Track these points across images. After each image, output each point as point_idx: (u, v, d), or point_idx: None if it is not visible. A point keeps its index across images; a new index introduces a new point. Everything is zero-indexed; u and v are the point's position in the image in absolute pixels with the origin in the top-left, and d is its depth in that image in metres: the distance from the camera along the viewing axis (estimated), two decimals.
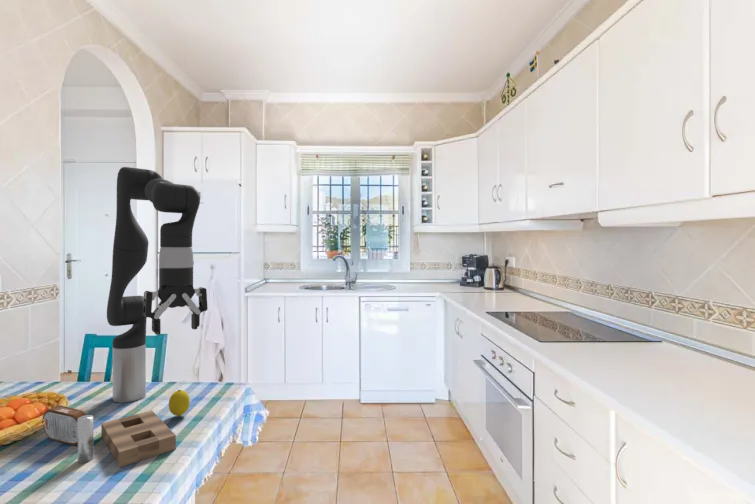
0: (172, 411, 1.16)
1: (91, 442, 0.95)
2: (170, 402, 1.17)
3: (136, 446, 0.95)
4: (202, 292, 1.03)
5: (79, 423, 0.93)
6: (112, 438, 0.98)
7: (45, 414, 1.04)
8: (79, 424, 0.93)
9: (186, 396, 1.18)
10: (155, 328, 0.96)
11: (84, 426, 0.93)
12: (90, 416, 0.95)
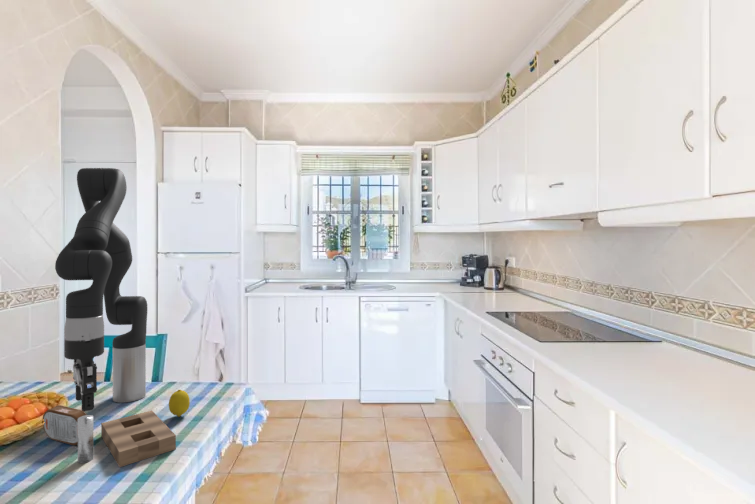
0: (172, 411, 1.16)
1: (91, 442, 0.95)
2: (170, 402, 1.17)
3: (136, 446, 0.95)
4: None
5: (79, 423, 0.93)
6: (112, 438, 0.98)
7: (45, 414, 1.04)
8: (79, 424, 0.93)
9: (186, 396, 1.18)
10: (92, 403, 0.91)
11: (84, 426, 0.93)
12: (90, 416, 0.95)
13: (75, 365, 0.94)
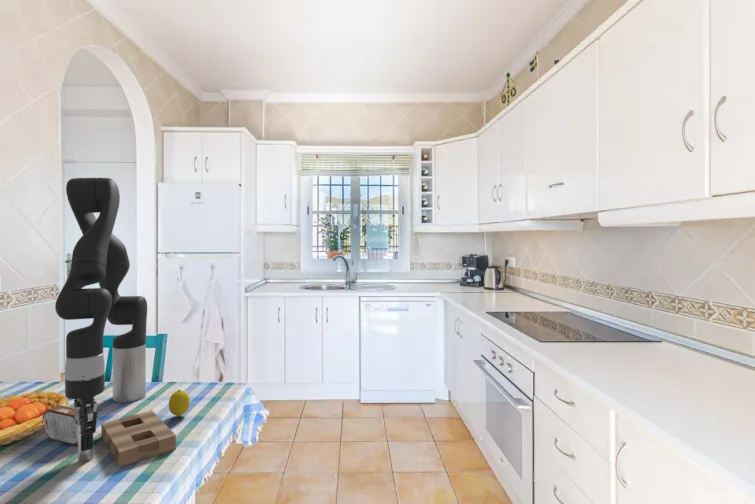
0: (172, 411, 1.16)
1: None
2: (170, 402, 1.17)
3: (136, 446, 0.95)
4: None
5: None
6: (112, 438, 0.98)
7: (45, 414, 1.04)
8: None
9: (186, 396, 1.18)
10: (91, 443, 0.94)
11: None
12: None
13: (76, 402, 0.94)
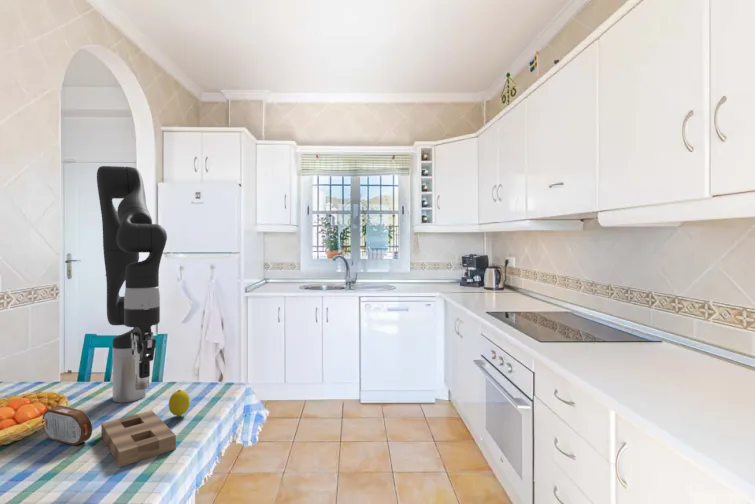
0: (172, 411, 1.16)
1: None
2: (170, 402, 1.17)
3: (136, 446, 0.95)
4: None
5: None
6: (112, 438, 0.98)
7: (45, 414, 1.04)
8: None
9: (186, 396, 1.18)
10: None
11: None
12: None
13: (133, 332, 0.99)
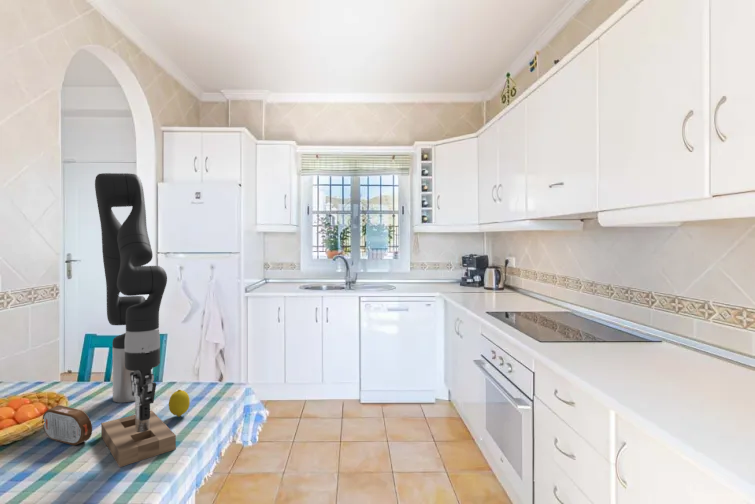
0: (172, 411, 1.16)
1: None
2: (170, 402, 1.17)
3: (136, 446, 0.95)
4: None
5: None
6: (112, 438, 0.98)
7: (45, 414, 1.04)
8: None
9: (186, 396, 1.18)
10: None
11: None
12: None
13: (134, 375, 0.99)
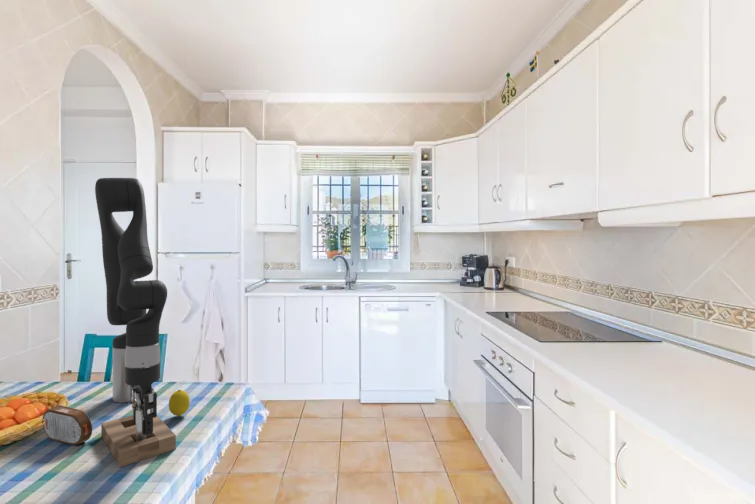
0: (172, 411, 1.16)
1: None
2: (170, 402, 1.17)
3: (136, 446, 0.95)
4: None
5: (137, 415, 0.98)
6: (112, 438, 0.98)
7: (45, 414, 1.04)
8: (137, 416, 0.98)
9: (186, 396, 1.18)
10: None
11: None
12: None
13: (134, 390, 0.99)
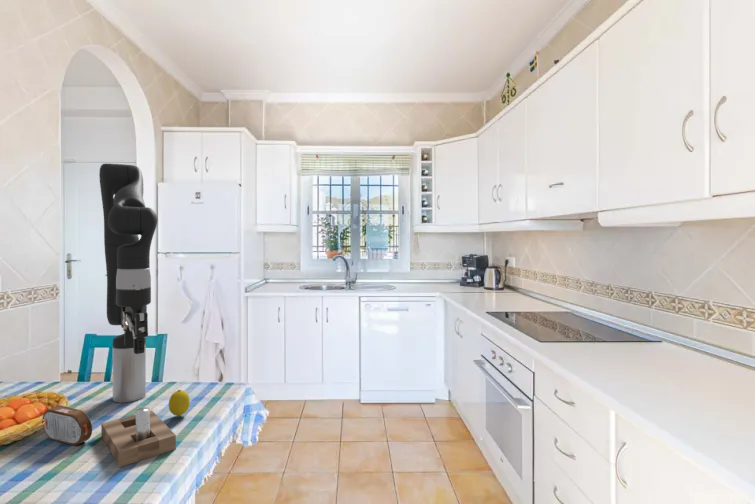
0: (172, 411, 1.16)
1: (148, 433, 0.99)
2: (170, 402, 1.17)
3: (136, 446, 0.95)
4: None
5: (138, 415, 0.98)
6: (112, 438, 0.98)
7: (45, 414, 1.04)
8: (138, 416, 0.98)
9: (186, 396, 1.18)
10: None
11: (142, 417, 0.98)
12: (147, 408, 1.00)
13: (125, 313, 1.02)
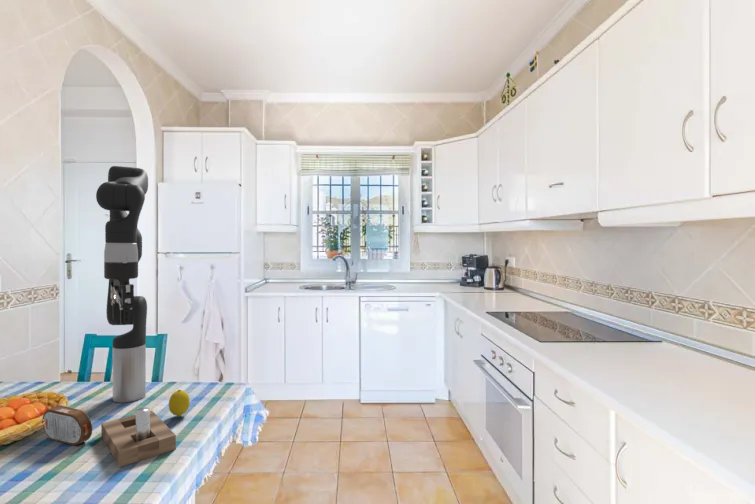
0: (172, 411, 1.16)
1: (148, 433, 0.99)
2: (170, 402, 1.17)
3: (136, 446, 0.95)
4: None
5: (138, 415, 0.98)
6: (112, 438, 0.98)
7: (45, 414, 1.04)
8: (138, 416, 0.98)
9: (186, 396, 1.18)
10: None
11: (142, 417, 0.98)
12: (147, 408, 1.00)
13: (113, 286, 1.06)
